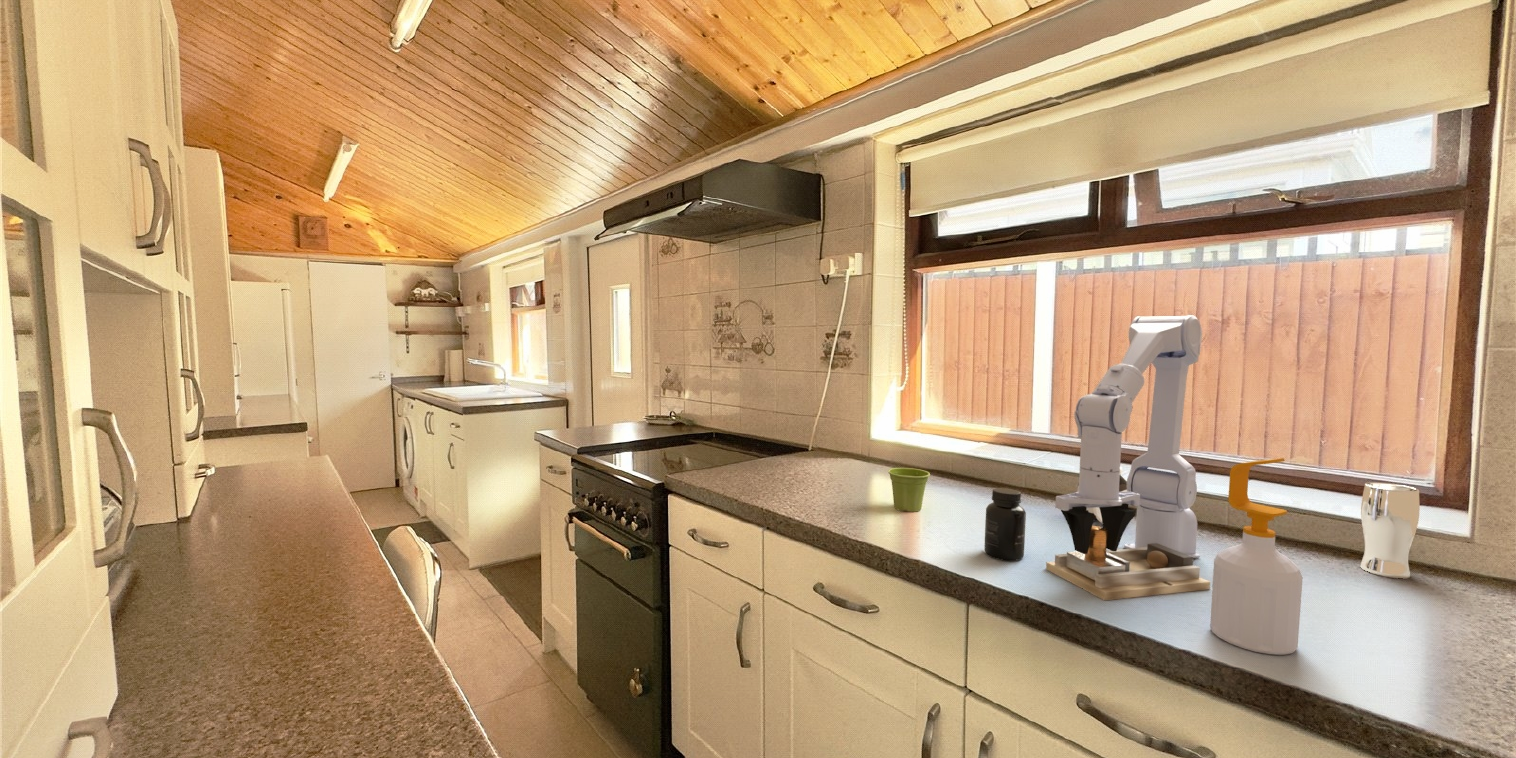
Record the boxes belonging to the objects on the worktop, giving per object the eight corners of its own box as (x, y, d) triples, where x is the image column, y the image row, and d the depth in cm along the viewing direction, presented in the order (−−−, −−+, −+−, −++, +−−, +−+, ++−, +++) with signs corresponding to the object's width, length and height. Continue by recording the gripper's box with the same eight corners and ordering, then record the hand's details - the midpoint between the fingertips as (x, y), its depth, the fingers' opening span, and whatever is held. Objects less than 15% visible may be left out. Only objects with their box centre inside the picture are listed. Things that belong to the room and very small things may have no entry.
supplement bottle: (1028, 563, 109) (1030, 496, 108) (987, 560, 110) (989, 494, 110) (1019, 550, 116) (1022, 487, 115) (981, 547, 117) (983, 485, 116)
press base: (1141, 560, 111) (1143, 537, 111) (1209, 589, 98) (1211, 563, 98) (1046, 568, 106) (1047, 545, 106) (1104, 600, 94) (1105, 573, 94)
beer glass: (1401, 568, 108) (1408, 484, 107) (1423, 582, 102) (1430, 493, 101) (1349, 562, 111) (1355, 480, 110) (1367, 575, 105) (1374, 488, 104)
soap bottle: (1276, 663, 76) (1289, 466, 74) (1195, 631, 84) (1206, 453, 82) (1310, 647, 80) (1324, 460, 78) (1231, 618, 88) (1241, 448, 86)
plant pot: (907, 501, 150) (908, 466, 149) (937, 510, 142) (938, 473, 141) (878, 506, 145) (879, 470, 144) (907, 516, 137) (908, 478, 136)
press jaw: (1095, 563, 105) (1097, 520, 105) (1128, 579, 98) (1131, 533, 98) (1066, 566, 104) (1068, 523, 103) (1098, 582, 97) (1100, 536, 96)
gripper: (1079, 475, 94) (1075, 562, 95) (1157, 472, 98) (1153, 555, 98) (1047, 466, 101) (1044, 547, 102) (1121, 463, 104) (1117, 541, 105)
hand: (1095, 550), depth 101 cm, fingers open, 5 cm apart
